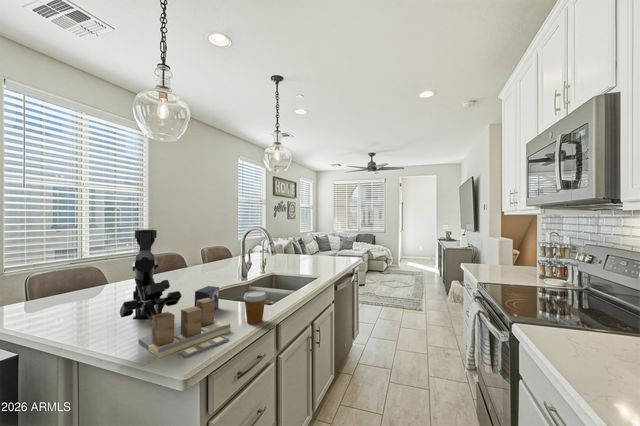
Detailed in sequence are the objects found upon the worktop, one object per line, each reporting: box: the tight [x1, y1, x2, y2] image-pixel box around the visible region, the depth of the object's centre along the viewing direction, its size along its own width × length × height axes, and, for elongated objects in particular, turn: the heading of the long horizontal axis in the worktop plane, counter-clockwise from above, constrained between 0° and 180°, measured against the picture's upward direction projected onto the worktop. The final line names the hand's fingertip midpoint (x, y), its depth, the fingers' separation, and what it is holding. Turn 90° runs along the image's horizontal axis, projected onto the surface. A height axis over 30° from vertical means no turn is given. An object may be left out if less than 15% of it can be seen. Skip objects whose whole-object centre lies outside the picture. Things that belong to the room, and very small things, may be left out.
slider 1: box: [151, 311, 176, 346], centre depth 96 cm, size 5×5×9 cm
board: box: [138, 320, 231, 358], centre depth 104 cm, size 16×26×3 cm, turn 143°
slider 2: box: [196, 298, 215, 326], centre depth 113 cm, size 5×5×9 cm
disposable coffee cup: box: [242, 290, 267, 326], centre depth 119 cm, size 10×10×12 cm
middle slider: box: [180, 305, 202, 338], centre depth 102 cm, size 5×5×9 cm
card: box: [178, 335, 230, 359], centre depth 96 cm, size 4×16×1 cm, turn 143°
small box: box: [194, 285, 220, 311], centre depth 132 cm, size 11×6×10 cm, turn 168°
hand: (159, 323), depth 97 cm, fingers closed, pressing on slider 1
